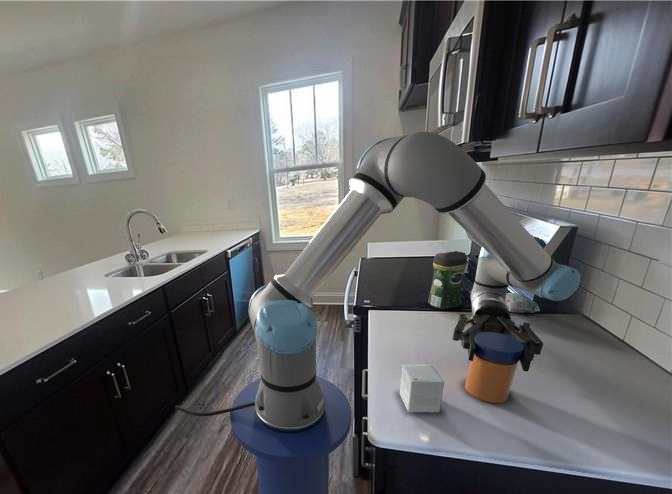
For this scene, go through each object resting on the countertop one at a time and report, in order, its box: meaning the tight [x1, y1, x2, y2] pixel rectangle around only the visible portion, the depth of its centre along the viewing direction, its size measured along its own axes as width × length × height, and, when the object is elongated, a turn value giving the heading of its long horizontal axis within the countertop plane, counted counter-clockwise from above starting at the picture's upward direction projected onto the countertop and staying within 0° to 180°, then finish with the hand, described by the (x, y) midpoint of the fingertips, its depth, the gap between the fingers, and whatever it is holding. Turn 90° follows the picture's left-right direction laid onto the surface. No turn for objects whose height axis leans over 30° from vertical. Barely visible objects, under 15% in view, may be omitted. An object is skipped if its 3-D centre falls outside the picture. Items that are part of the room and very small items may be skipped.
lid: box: [475, 332, 524, 364], centre depth 63 cm, size 8×8×2 cm
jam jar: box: [464, 353, 519, 404], centre depth 65 cm, size 8×8×11 cm
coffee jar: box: [427, 250, 468, 310], centre depth 105 cm, size 10×8×19 cm
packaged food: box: [505, 292, 541, 314], centre depth 102 cm, size 9×12×5 cm
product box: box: [399, 363, 445, 413], centre depth 63 cm, size 6×6×7 cm
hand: (498, 359), depth 60 cm, fingers closed on lid, 8 cm apart
